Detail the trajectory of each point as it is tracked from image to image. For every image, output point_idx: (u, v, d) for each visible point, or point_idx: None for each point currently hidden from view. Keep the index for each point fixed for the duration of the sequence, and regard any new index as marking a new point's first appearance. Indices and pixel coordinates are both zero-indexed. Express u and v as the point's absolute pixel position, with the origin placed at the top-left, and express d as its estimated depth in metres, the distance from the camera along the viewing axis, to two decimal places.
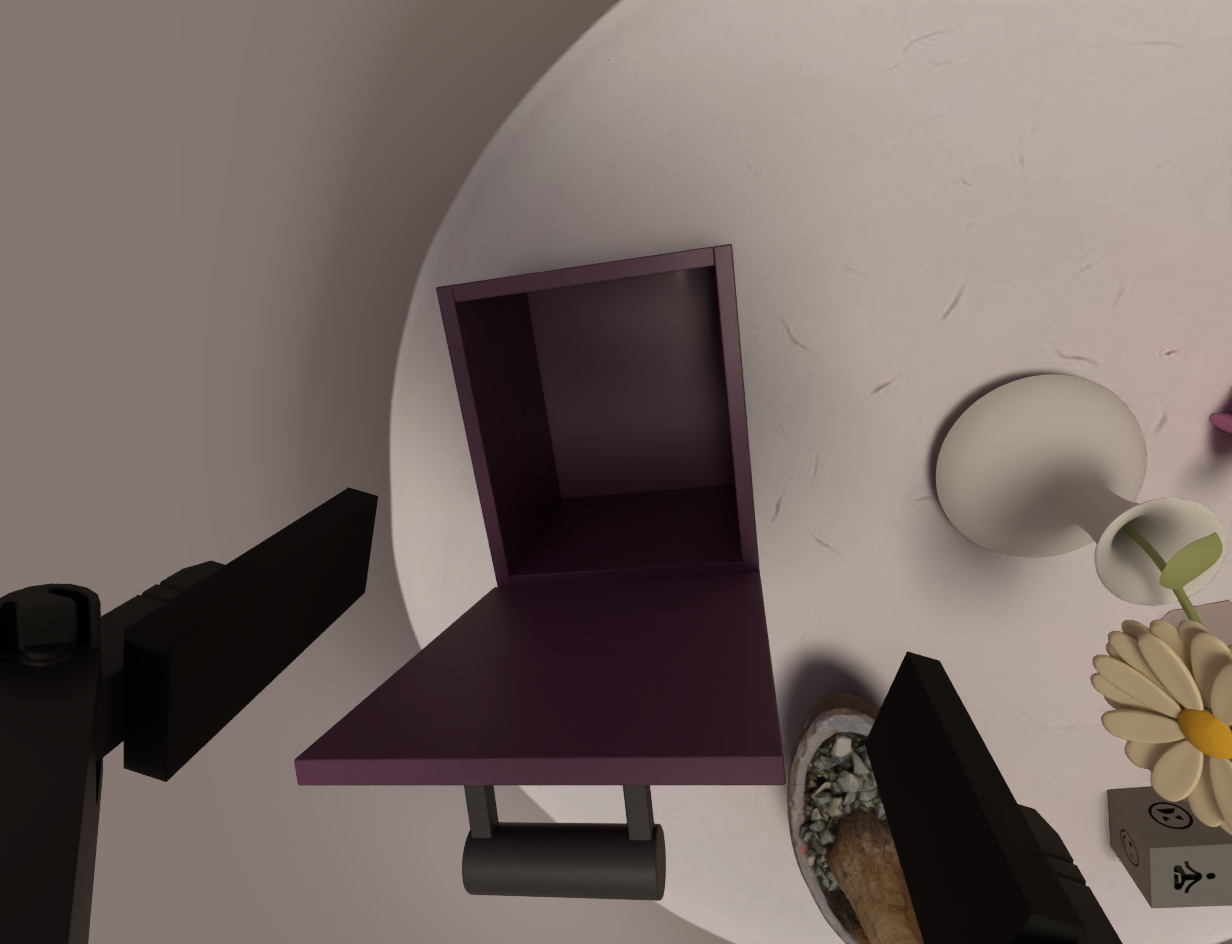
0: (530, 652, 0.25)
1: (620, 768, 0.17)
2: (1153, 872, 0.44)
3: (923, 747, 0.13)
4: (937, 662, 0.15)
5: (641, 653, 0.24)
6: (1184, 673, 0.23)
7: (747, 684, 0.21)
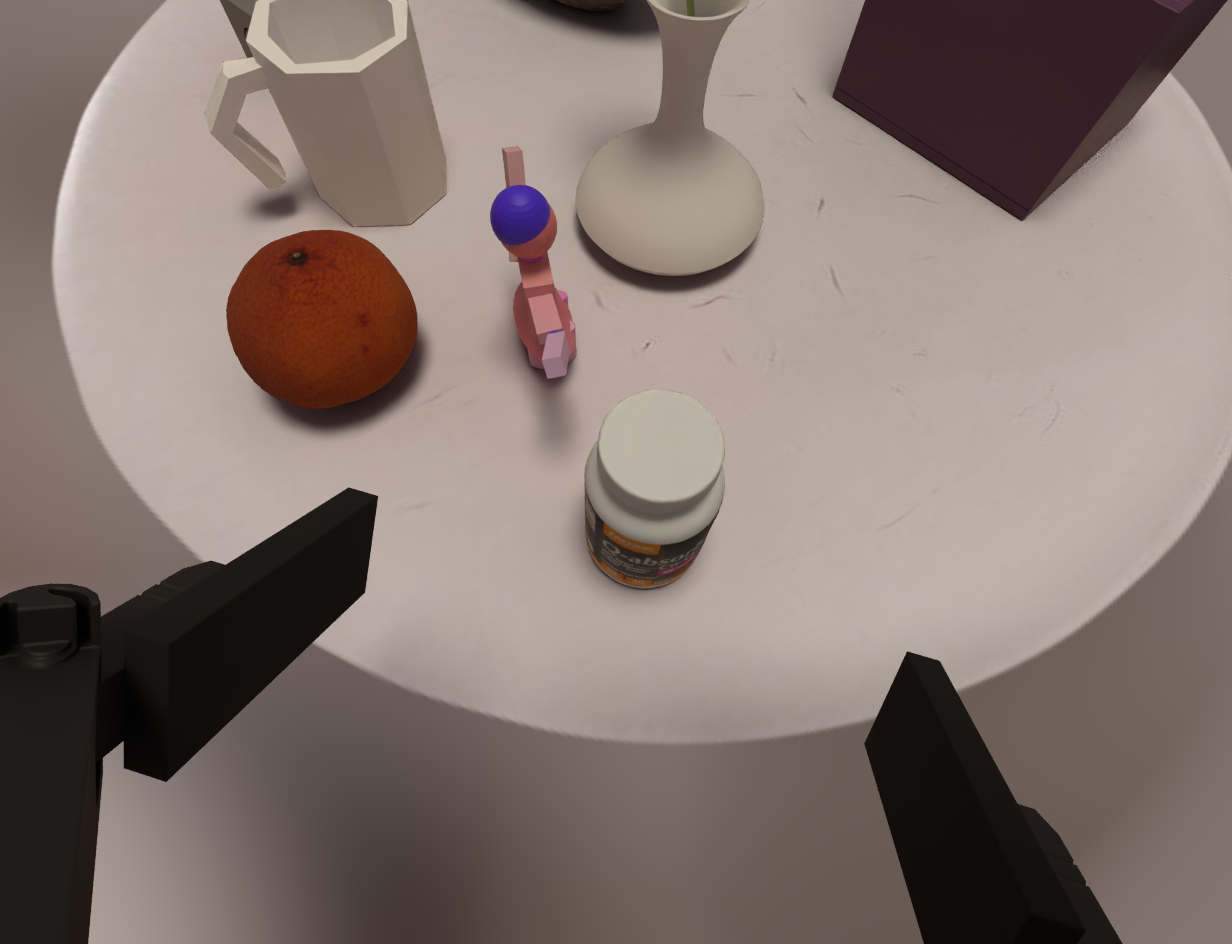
0: None
1: None
2: None
3: (923, 747, 0.13)
4: (937, 662, 0.15)
5: None
6: None
7: None
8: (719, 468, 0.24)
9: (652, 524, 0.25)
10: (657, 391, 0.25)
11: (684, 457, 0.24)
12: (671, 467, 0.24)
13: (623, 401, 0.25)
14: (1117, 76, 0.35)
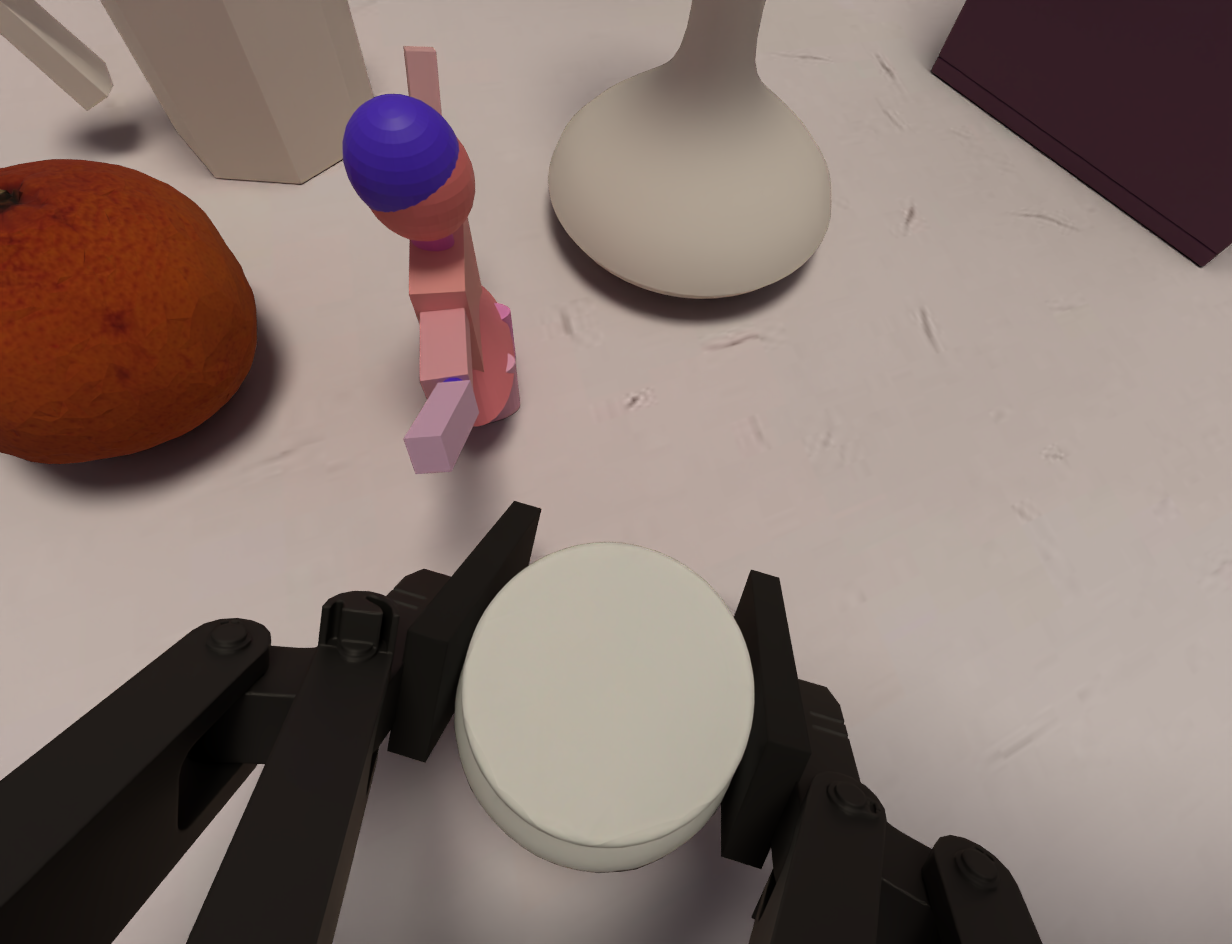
0: None
1: None
2: None
3: None
4: (777, 579, 0.17)
5: None
6: None
7: None
8: (738, 759, 0.10)
9: None
10: (616, 547, 0.12)
11: (660, 723, 0.10)
12: (625, 748, 0.10)
13: (537, 565, 0.11)
14: None
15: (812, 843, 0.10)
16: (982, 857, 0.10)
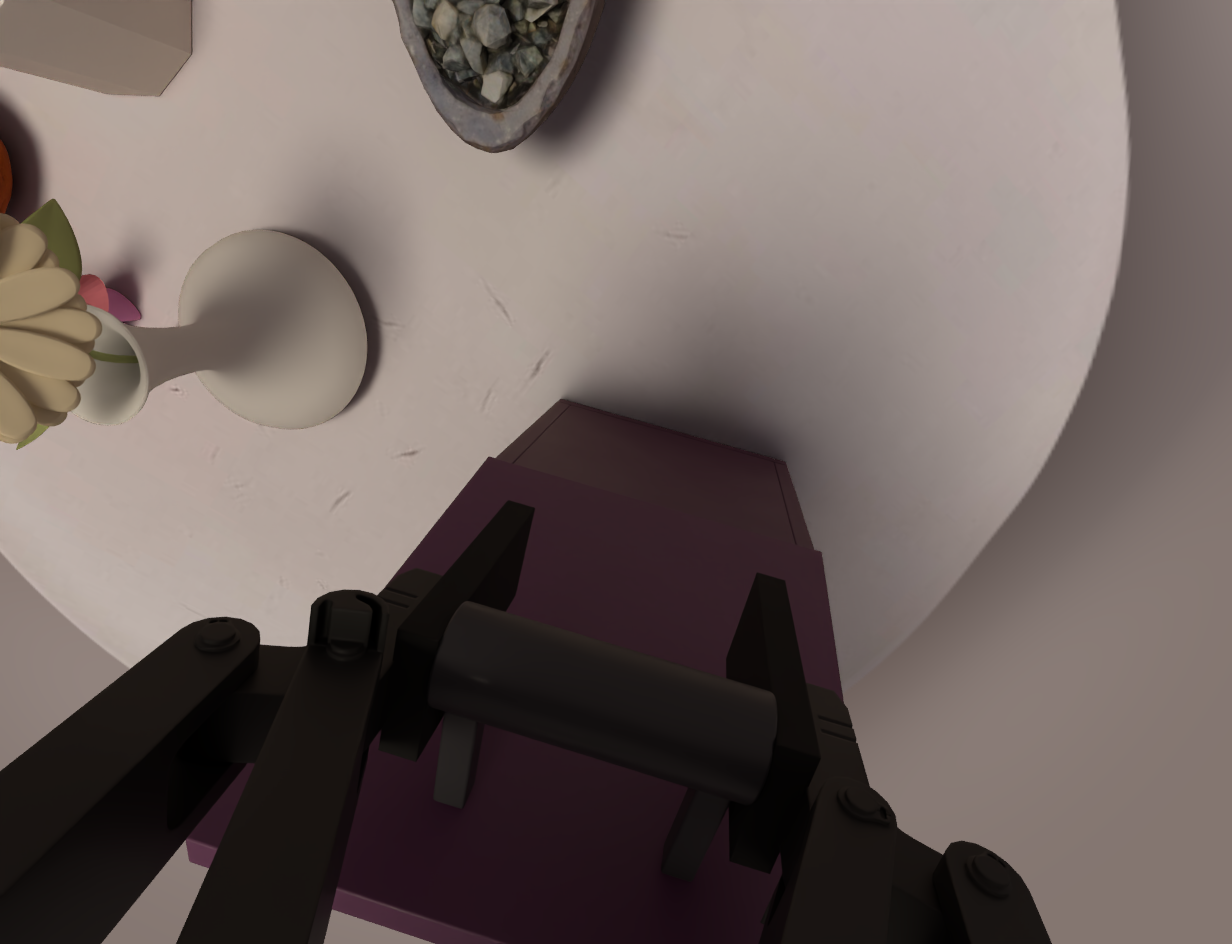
0: None
1: (390, 921, 0.13)
2: None
3: (751, 645, 0.15)
4: (783, 582, 0.17)
5: None
6: None
7: None
8: None
9: None
10: None
11: None
12: None
13: None
14: None
15: (822, 848, 0.10)
16: (993, 863, 0.10)
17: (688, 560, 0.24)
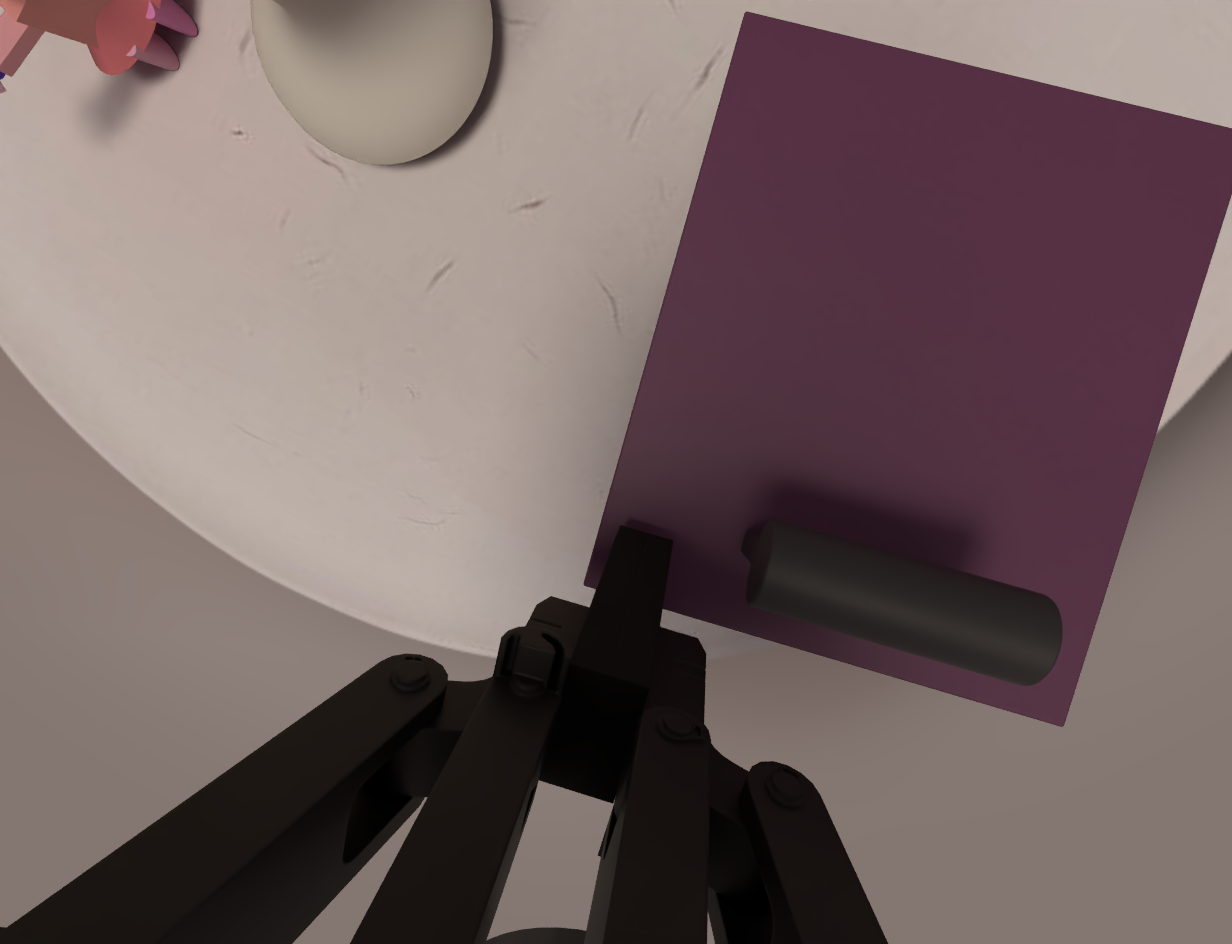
0: None
1: None
2: None
3: None
4: (671, 542, 0.18)
5: None
6: None
7: None
8: None
9: None
10: None
11: None
12: None
13: None
14: None
15: (646, 777, 0.10)
16: (789, 777, 0.11)
17: (1022, 201, 0.18)
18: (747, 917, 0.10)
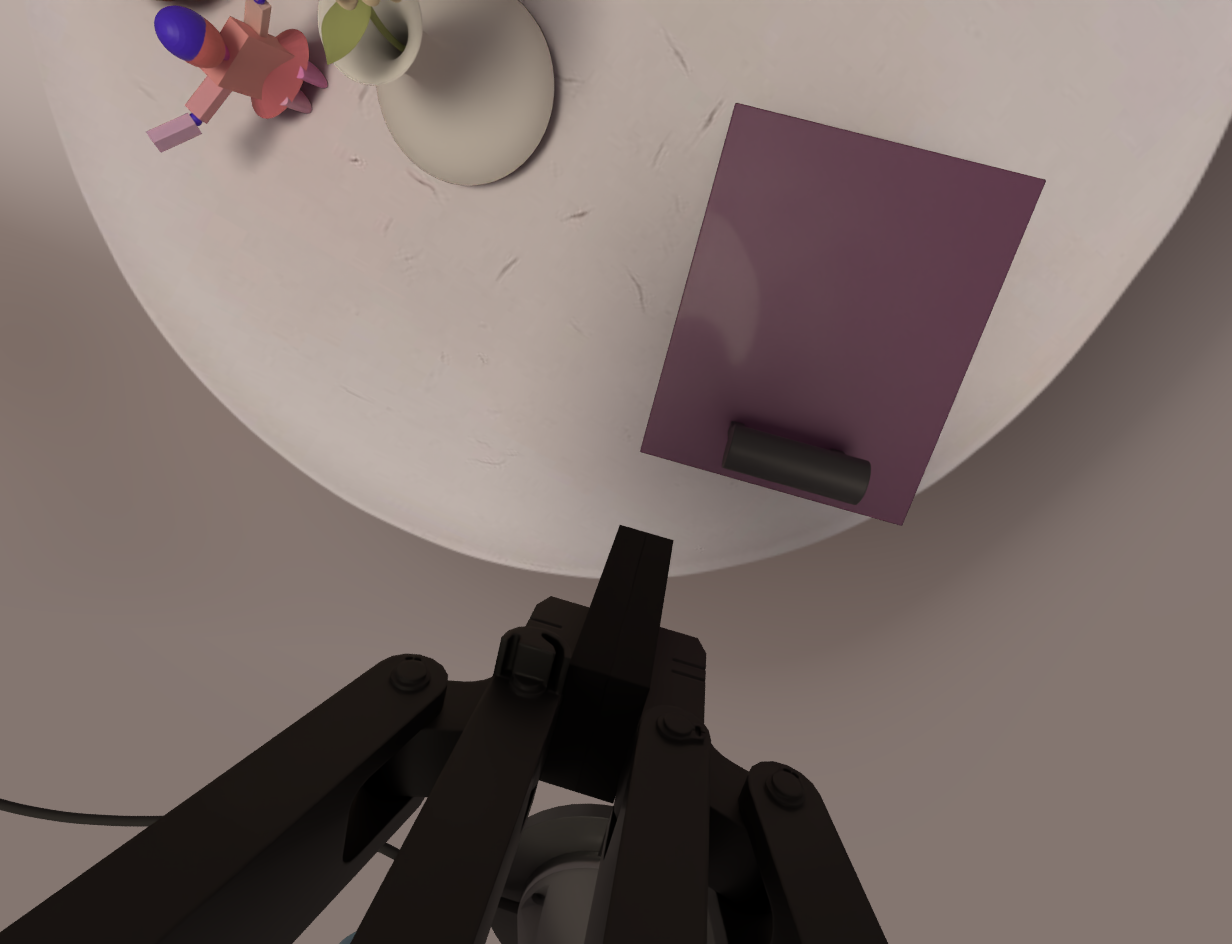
0: None
1: None
2: None
3: None
4: (672, 542, 0.18)
5: None
6: None
7: None
8: None
9: None
10: None
11: None
12: None
13: None
14: None
15: (645, 777, 0.10)
16: (789, 777, 0.11)
17: (901, 225, 0.30)
18: (747, 917, 0.10)
